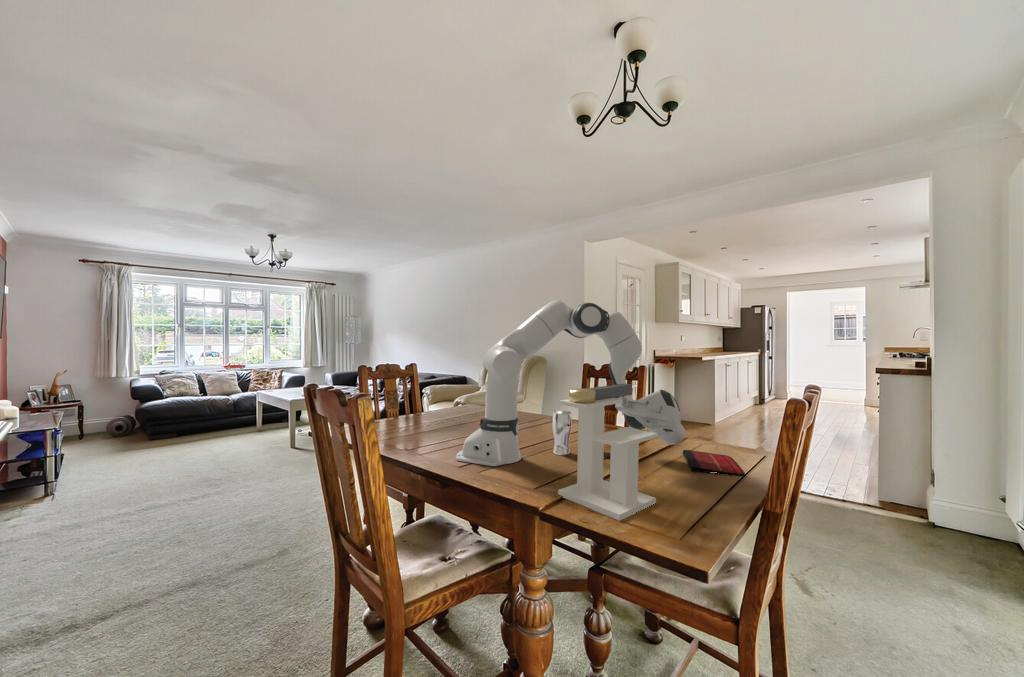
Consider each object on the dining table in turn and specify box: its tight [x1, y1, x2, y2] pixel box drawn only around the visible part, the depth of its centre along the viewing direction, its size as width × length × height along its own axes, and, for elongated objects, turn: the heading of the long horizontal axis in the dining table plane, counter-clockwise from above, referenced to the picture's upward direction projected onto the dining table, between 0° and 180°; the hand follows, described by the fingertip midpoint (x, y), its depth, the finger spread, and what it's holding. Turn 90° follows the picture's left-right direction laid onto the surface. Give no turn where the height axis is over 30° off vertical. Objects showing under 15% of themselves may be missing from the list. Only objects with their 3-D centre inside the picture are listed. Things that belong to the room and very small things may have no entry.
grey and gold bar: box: [568, 383, 633, 404], centre depth 123 cm, size 24×7×3 cm, turn 131°
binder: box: [682, 449, 745, 477], centre depth 147 cm, size 16×2×21 cm
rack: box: [557, 397, 658, 522], centre depth 116 cm, size 16×20×26 cm
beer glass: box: [552, 409, 573, 456], centre depth 158 cm, size 7×7×15 cm
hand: (634, 400), depth 133 cm, fingers open, 8 cm apart
